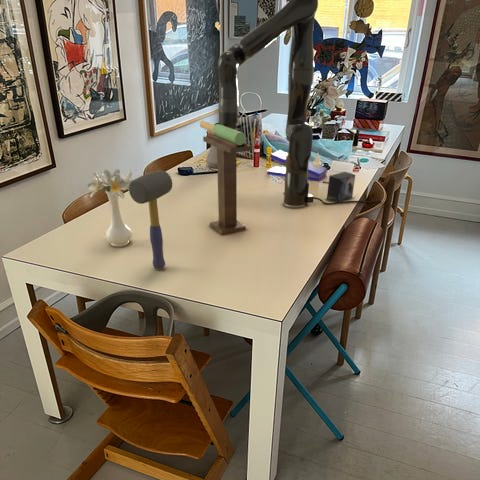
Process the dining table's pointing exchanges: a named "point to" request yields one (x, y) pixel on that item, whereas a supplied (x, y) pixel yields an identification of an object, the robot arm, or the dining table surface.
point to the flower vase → (114, 204)
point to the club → (224, 132)
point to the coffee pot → (212, 157)
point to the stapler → (280, 158)
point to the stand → (226, 184)
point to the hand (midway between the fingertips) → (228, 153)
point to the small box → (340, 186)
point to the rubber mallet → (152, 207)
